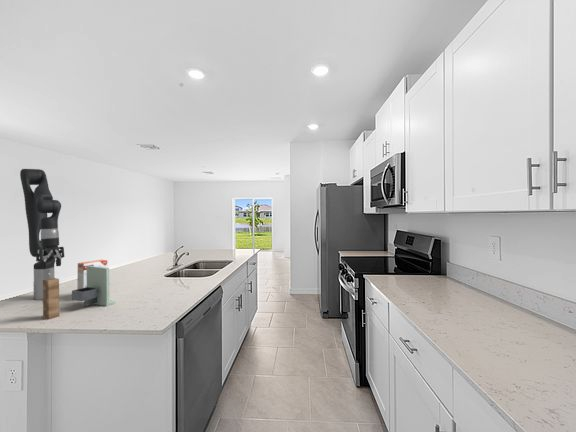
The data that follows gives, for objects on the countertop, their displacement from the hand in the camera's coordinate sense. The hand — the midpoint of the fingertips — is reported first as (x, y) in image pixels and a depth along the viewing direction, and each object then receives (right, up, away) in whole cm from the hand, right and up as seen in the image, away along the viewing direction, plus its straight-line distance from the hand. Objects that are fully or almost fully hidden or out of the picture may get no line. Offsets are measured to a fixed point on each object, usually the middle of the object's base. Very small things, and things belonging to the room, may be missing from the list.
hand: (51, 267), depth 156 cm
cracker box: (+12, -20, +15) cm, 28 cm away
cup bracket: (+22, -20, -1) cm, 30 cm away
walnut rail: (+14, -20, -17) cm, 30 cm away
